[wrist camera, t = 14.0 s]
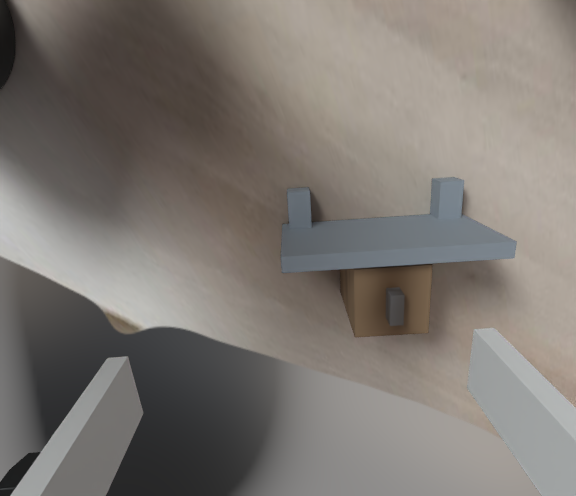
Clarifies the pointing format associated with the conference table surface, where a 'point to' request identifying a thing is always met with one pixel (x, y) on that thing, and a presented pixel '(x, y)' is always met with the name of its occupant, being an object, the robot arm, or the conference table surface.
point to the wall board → (389, 236)
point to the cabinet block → (387, 299)
